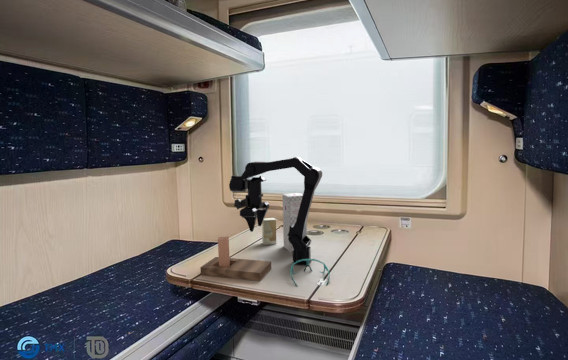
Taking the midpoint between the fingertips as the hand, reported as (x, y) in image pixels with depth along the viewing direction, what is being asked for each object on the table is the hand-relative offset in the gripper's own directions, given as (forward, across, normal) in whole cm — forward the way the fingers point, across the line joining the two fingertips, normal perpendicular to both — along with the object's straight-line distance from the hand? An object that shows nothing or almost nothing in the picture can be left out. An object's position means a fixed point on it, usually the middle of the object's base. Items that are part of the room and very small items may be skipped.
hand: (255, 228), depth 146 cm
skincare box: (+13, -22, -2) cm, 26 cm away
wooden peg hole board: (+13, +16, -2) cm, 21 cm away
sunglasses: (+14, +15, +26) cm, 33 cm away
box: (+13, -18, +12) cm, 25 cm away
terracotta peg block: (+13, +16, -7) cm, 22 cm away
